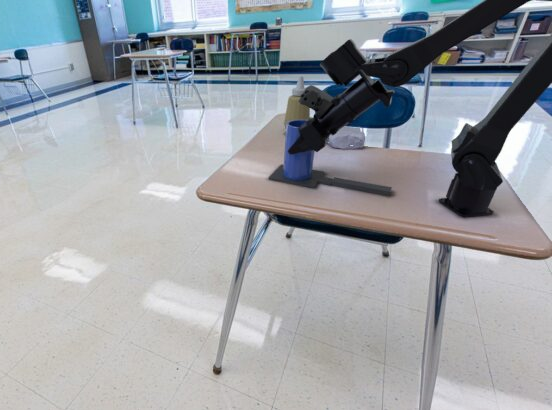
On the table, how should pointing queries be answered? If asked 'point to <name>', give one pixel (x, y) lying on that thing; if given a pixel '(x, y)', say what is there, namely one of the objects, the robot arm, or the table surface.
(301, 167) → the cup
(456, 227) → the table surface
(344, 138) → the stone block
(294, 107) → the squeeze bottle
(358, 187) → the spatula
